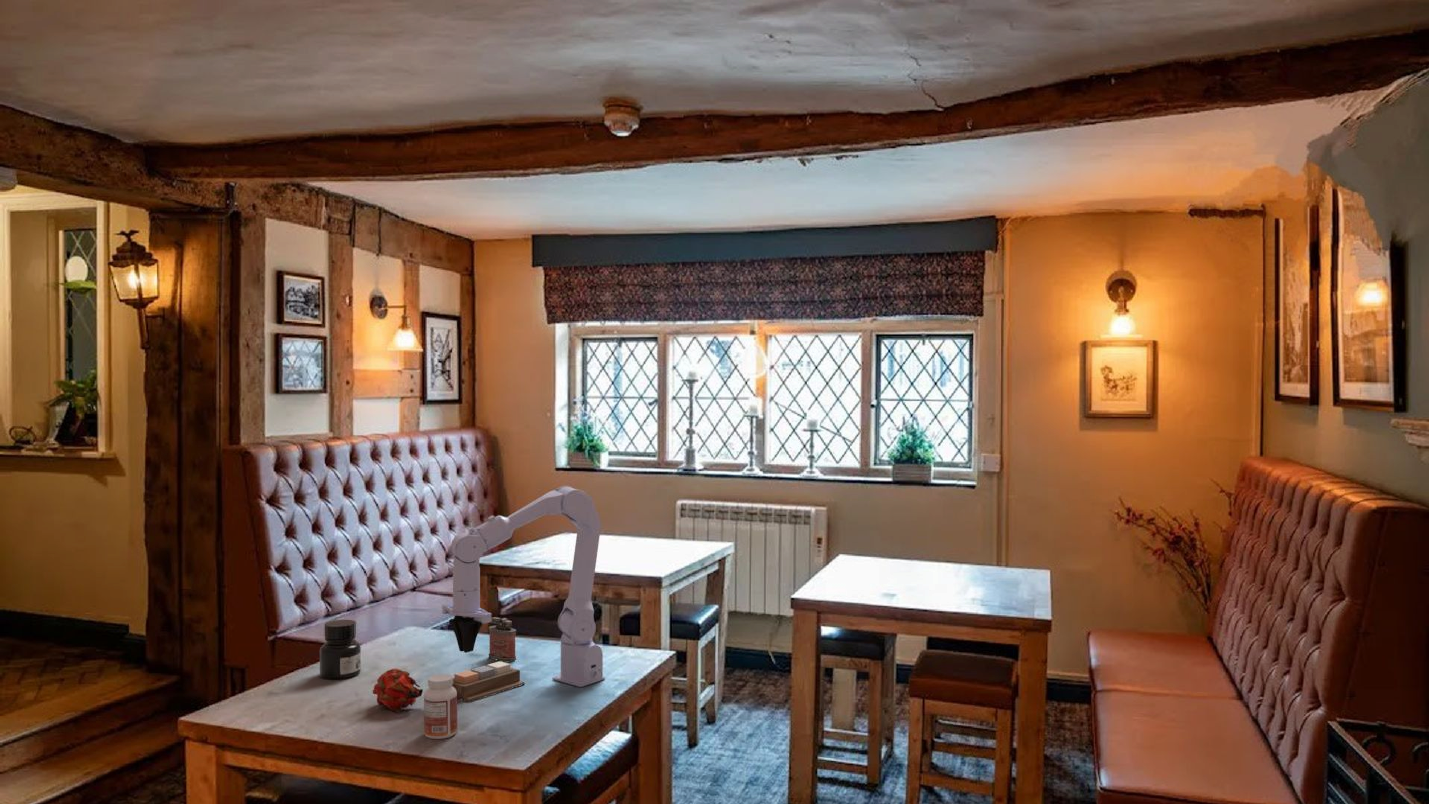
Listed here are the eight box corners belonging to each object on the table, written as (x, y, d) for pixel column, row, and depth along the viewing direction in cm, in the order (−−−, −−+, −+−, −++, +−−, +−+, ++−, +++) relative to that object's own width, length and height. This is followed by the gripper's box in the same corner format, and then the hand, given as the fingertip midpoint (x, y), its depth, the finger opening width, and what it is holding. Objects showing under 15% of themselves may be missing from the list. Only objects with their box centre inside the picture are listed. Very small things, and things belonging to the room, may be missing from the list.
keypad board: (524, 684, 221) (524, 671, 221) (468, 702, 209) (468, 688, 209) (495, 676, 227) (495, 663, 227) (440, 692, 215) (440, 679, 215)
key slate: (494, 679, 218) (494, 668, 218) (481, 683, 215) (481, 672, 215) (484, 676, 220) (484, 665, 220) (471, 680, 218) (471, 669, 218)
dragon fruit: (383, 706, 210) (413, 727, 203) (355, 691, 205) (385, 713, 197) (406, 670, 213) (437, 690, 206) (379, 655, 208) (410, 675, 200)
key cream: (510, 674, 222) (510, 664, 222) (497, 678, 219) (497, 667, 219) (499, 671, 224) (499, 661, 224) (487, 675, 221) (487, 664, 221)
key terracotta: (478, 684, 215) (478, 673, 215) (464, 688, 212) (464, 677, 212) (467, 681, 217) (467, 670, 217) (454, 685, 214) (454, 674, 214)
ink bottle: (351, 681, 223) (350, 628, 223) (312, 680, 223) (312, 628, 223) (367, 668, 233) (367, 618, 232) (330, 668, 233) (330, 617, 233)
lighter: (519, 659, 241) (519, 619, 240) (509, 663, 238) (509, 622, 238) (495, 654, 245) (495, 614, 245) (485, 657, 242) (485, 617, 242)
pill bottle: (446, 726, 194) (446, 670, 194) (463, 734, 190) (463, 677, 190) (417, 734, 190) (417, 677, 190) (435, 742, 186) (434, 684, 185)
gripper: (430, 587, 215) (430, 649, 215) (472, 596, 206) (472, 661, 207) (457, 582, 221) (457, 642, 221) (499, 591, 212) (499, 653, 212)
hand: (466, 651), depth 214 cm, fingers closed
